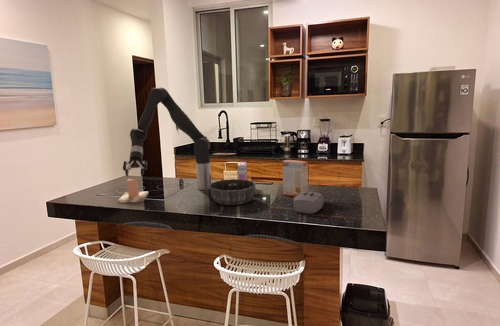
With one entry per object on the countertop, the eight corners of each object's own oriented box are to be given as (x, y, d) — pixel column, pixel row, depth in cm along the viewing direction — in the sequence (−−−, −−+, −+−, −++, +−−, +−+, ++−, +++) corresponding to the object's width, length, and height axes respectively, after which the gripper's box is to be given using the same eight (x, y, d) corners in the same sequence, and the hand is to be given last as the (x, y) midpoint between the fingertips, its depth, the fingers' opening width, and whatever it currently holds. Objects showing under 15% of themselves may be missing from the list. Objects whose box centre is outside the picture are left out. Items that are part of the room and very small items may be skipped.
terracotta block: (139, 194, 194) (137, 178, 192) (137, 196, 189) (135, 180, 187) (130, 194, 193) (129, 178, 191) (128, 196, 188) (127, 180, 187)
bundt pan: (246, 210, 163) (246, 191, 161) (201, 206, 172) (200, 188, 170) (262, 196, 187) (262, 180, 186) (221, 193, 196) (221, 178, 195)
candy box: (246, 190, 202) (246, 165, 199) (237, 190, 202) (236, 165, 200) (247, 185, 216) (246, 161, 213) (238, 185, 216) (238, 161, 213)
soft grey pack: (318, 215, 152) (328, 204, 170) (319, 198, 151) (328, 189, 169) (289, 212, 159) (300, 201, 177) (288, 195, 158) (300, 186, 175)
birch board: (148, 193, 201) (148, 191, 201) (143, 201, 183) (143, 198, 183) (125, 194, 199) (125, 192, 199) (118, 203, 181) (117, 200, 181)
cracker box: (308, 196, 185) (308, 161, 181) (302, 198, 181) (302, 162, 177) (288, 192, 194) (288, 159, 191) (282, 194, 190) (282, 160, 187)
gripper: (123, 151, 200) (120, 172, 190) (146, 150, 202) (145, 171, 192) (126, 158, 206) (123, 179, 196) (148, 157, 208) (147, 177, 198)
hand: (134, 175), depth 194 cm, fingers open, 8 cm apart
